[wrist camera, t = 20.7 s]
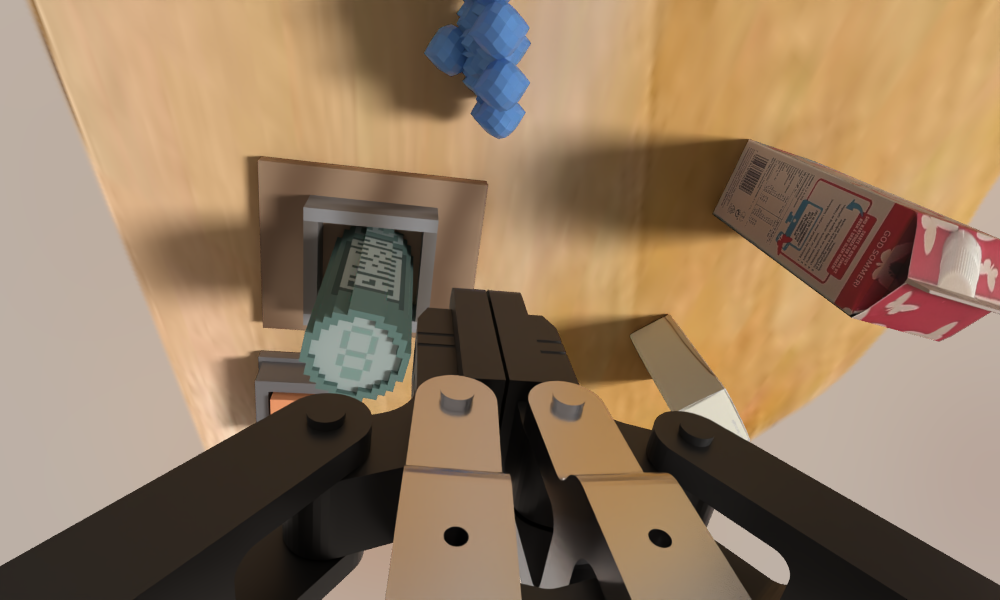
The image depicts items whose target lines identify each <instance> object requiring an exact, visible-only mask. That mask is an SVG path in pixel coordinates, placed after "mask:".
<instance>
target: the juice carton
mask: <svg viewBox="0 0 1000 600" xmlns="http://www.w3.org/2000/svg"><path fill="white" fill-rule="evenodd" d="M713 215H714V216H715V217H717V218H718V219H720V220H721V221H722V222H724V223H725V224H726V225H728V226H729V227H730V228H732V229H733V230H734V231H736V232H737V233H738V234H740V235H741V236H742V237H744V238H745V239H746V240H748V241H749V242H750V243H752V244H753V245H754V246H756V247H757V248H758V249H760V250H761V251H762V252H764V253H765V254H767V255H768V256H769V257H771V258H772V259H773V260H775V261H776V262H777V263H779V264H780V265H781V266H783V267H784V268H785V269H787V270H788V271H789V272H791V273H792V274H793V275H795V276H796V277H797V278H799V279H800V280H801V281H803V282H804V283H805V284H807V285H808V286H809V287H811V288H812V289H814V290H815V291H816V292H818V293H819V294H820V295H822V296H823V297H824V298H826V299H827V300H828V301H830V302H831V303H832V304H834V305H835V306H836V307H838V308H839V309H840V310H842V311H843V312H844V313H846V314H847V315H848V316H850V317H851V318H854V319H858V320H861V321H865V322H869V323H872V324H876V325H880V326H884V327H887V328H891V329H895V330H898V331H902V332H906V333H910V334H913V335H917V336H920V337H924V338H928V339H931V340H935V341H942V340H944V339H946V338H948V337H951V336H953V335H954V334H956V333H958V332H959V331H961V330H962V329H964V328H966V327H967V326H969V325H971V324H972V323H974V322H976V321H977V320H979V319H980V318H982V317H984V316H985V315H987V314H989V313H990V312H994V313H998V314H1000V239H998V238H996V237H993V236H991V235H989V234H986V233H984V232H982V231H979V230H977V229H975V228H972V227H970V226H967V225H965V224H963V223H960V222H958V221H956V220H953V219H951V218H948V217H946V216H944V215H941V214H939V213H936V212H934V211H932V210H929V209H927V208H925V207H922V206H920V205H917V204H915V203H913V202H910V201H908V200H905V199H903V198H901V197H898V196H896V195H894V194H891V193H889V192H886V191H884V190H882V189H879V188H877V187H874V186H872V185H870V184H867V183H865V182H863V181H860V180H858V179H855V178H853V177H851V176H848V175H846V174H843V173H841V172H839V171H836V170H834V169H832V168H829V167H827V166H824V165H822V164H820V163H817V162H815V161H812V160H809V159H806V158H803V157H800V156H797V155H794V154H791V153H788V152H785V151H783V150H780V149H777V148H774V147H771V146H768V145H765V144H762V143H759V142H756V141H753V140H750V139H749V140H748V142H747V144H746V146H745V148H744V151H743V153H742V155H741V157H740V159H739V161H738V163H737V165H736V167H735V169H734V171H733V173H732V175H731V177H730V179H729V181H728V183H727V185H726V188H725V190H724V192H723V194H722V196H721V198H720V200H719V202H718V204H717V206H716V208H715V210H714V212H713ZM982 305H983V306H982ZM992 308H993V309H992Z"/></svg>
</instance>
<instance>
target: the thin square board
mask: <svg viewBox="0 0 1000 600" xmlns="http://www.w3.org/2000/svg"><path fill="white" fill-rule="evenodd" d="M258 181H259V214H260V246H261V279H262V311H263V328H276V329H291V330H306V328H307V325H308V322H309V319H310V316H311V313H312V310H313V307H314V304H315V301H316V299H317V296H318V293H319V290H320V287H321V284H322V281H323V278H324V275H325V272H326V269H327V266H328V263H329V260H330V258H331V255H332V252H333V249H334V246H335V243H336V240H337V237H340V238H342V236H343V233H344V230H345V229H347V230H350V228H351V226H355V227H356V226H366V227H376V228H387V229H395V230H394V232H398V233H402V234H404V236H403V239H406V240H407V245H410V246H411V256H413V296H412V337H414V338H416V329H417V319H418V317H419V316H420V315H421V314H422V313H423V312H424V311H425V310H426V308H427V307H428V308H442V309H449V304H450V296H451V291H452V288H466V289H474V283H475V276H476V269H477V262H478V255H479V247H480V240H481V233H482V226H483V219H484V211H485V204H486V197H487V190H488V184H487V181H479V180H470V179H461V178H452V177H443V176H434V175H425V174H416V173H407V172H398V171H389V170H380V169H371V168H362V167H353V166H344V165H335V164H326V163H317V162H308V161H299V160H290V159H281V158H272V157H263V156H262V157H261V158H260V159H259V160H258Z"/></svg>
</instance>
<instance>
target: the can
mask: <svg viewBox="0 0 1000 600" xmlns="http://www.w3.org/2000/svg"><path fill="white" fill-rule="evenodd" d="M394 230H395V229H387V228H376V227H366V226H356V227H355V226H351V228H350V230H347V229H345V230H344V233H343V236H342V238H340V237H337V240H336V243H335V246H334V249H333V252H332V255H331V258H330V260H329V263H328V266H327V269H326V272H325V275H324V278H323V281H322V284H321V287H320V290H319V293H318V296H317V299H316V301H315V304H314V307H313V310H312V313H311V316H310V319H309V322H308V325H307V328H306V331H305V335H304V339H303V344H302V349H301V353H300V358H299V362H303V363H306V365H305V369H304V375H309V376H310V380H309V382H315V383H316V386H315V388H316V389H321V390H326V391H329V392H328V393H336V394H342V395H347V396H350V397H353V398H355V399H357V400H359V401H361V402H362V399H363V398H368V399H374V400H376V399H377V396H378V395H382V396H385V392H386V391H391V392H393V389H394V386H395V382H396V381H399V382H403V379H404V376H405V373H406V369H407V366H408V363H409V359H410V356H411V337H412V296H413V256H411V246H410V245H407V240H406V239H403V236H404V234H402V233H398V232H394Z"/></svg>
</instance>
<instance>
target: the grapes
mask: <svg viewBox="0 0 1000 600" xmlns="http://www.w3.org/2000/svg"><path fill="white" fill-rule="evenodd" d="M463 1H464V4H463V5H462V7H461V8H460V10H459V11H458V12H457V15H459V16H460V18H459V20H458V22H457V23H456V24H457V25H458V26H459V27H456V26H454V25H452V24H450V25H446V26H444V27H441V28H439V30H438V31H437V33H436V34H435V35H434V37H433V38H432V40H431V41H430V43H429V44H428V46H427V48H426V50H425V52H424V54H425V55H426V56H427V57H428V58H429V59H430V61H431V62H432V63H433V64H434V65H435V66H436V67H437V68H438V69H439V70H441V71H442V72H444V73H446V74H447V75H449V76H454V75H457V74H459V73H461V72H462V73H463V74H464V75H465V76H466V77H465V78H464V80H463V81H462V82H463V83H464V84H465V85H466V86H467V87H468V88H469V89H470V90H472V91H473V92H474V93H475V94H476V95H477V98H476V100H477V101H478V102H477V103H476V105H475V106H474V108H473V110H472V112H471V113H470V114H471V115H472V116H473V117H474V119H475V120H476V121H477V122H478V123H479V124H480V125H481V127H482V128H483V129H484V130H485V131H486V132H487V133H489V134H490V135H492V136H494V137H496V138H498V139H500V138H505V137H507V136H508V135H510V134H511V133H512V132H513V131H514V130H515V129H516V127H517V126H518V124H519V122H520V121H521V119H522V118H523V116H524V114H525V113H526V112H525V111H524V110H523V108H522V107H521V106H520V105H519V104H518V103H517V102H518V101H519V100H520V99H521V97H522V95H523V94H524V92H525V91H526V89H527V87H528V86H529V84H530V82H529V80H528V79H527V78H526V76H525V75H524V74H523V73H522V72H521V70H520V69H519V68H518V67H517V66H516V65H517V64H518V63H519V61H520V60H521V59H522V57H523V56H524V54H525V53H526V51H527V49H528V47H529V46H530V44H531V43H530V41H529V40H528V39H527V37H526V36H525V35H526V33H527V32H528V30H529V26H528V25H527V24H526V22H525V21H524V19H523V18H522V17H521V16H520V14H519V13H518V12H517V11H516V10H515V9H514V8H513V7H512V6H511V5H510V4H508V2H509V1H510V0H463Z"/></svg>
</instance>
